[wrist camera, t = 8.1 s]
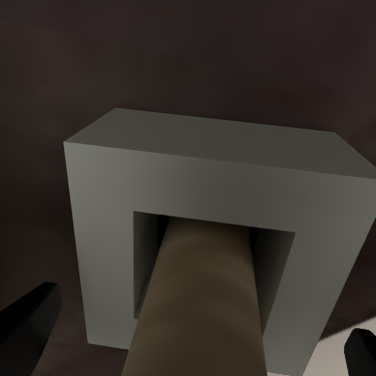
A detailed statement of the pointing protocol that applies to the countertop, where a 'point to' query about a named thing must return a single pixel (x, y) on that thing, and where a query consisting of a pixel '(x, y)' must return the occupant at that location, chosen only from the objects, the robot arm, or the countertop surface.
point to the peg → (200, 306)
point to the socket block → (218, 216)
